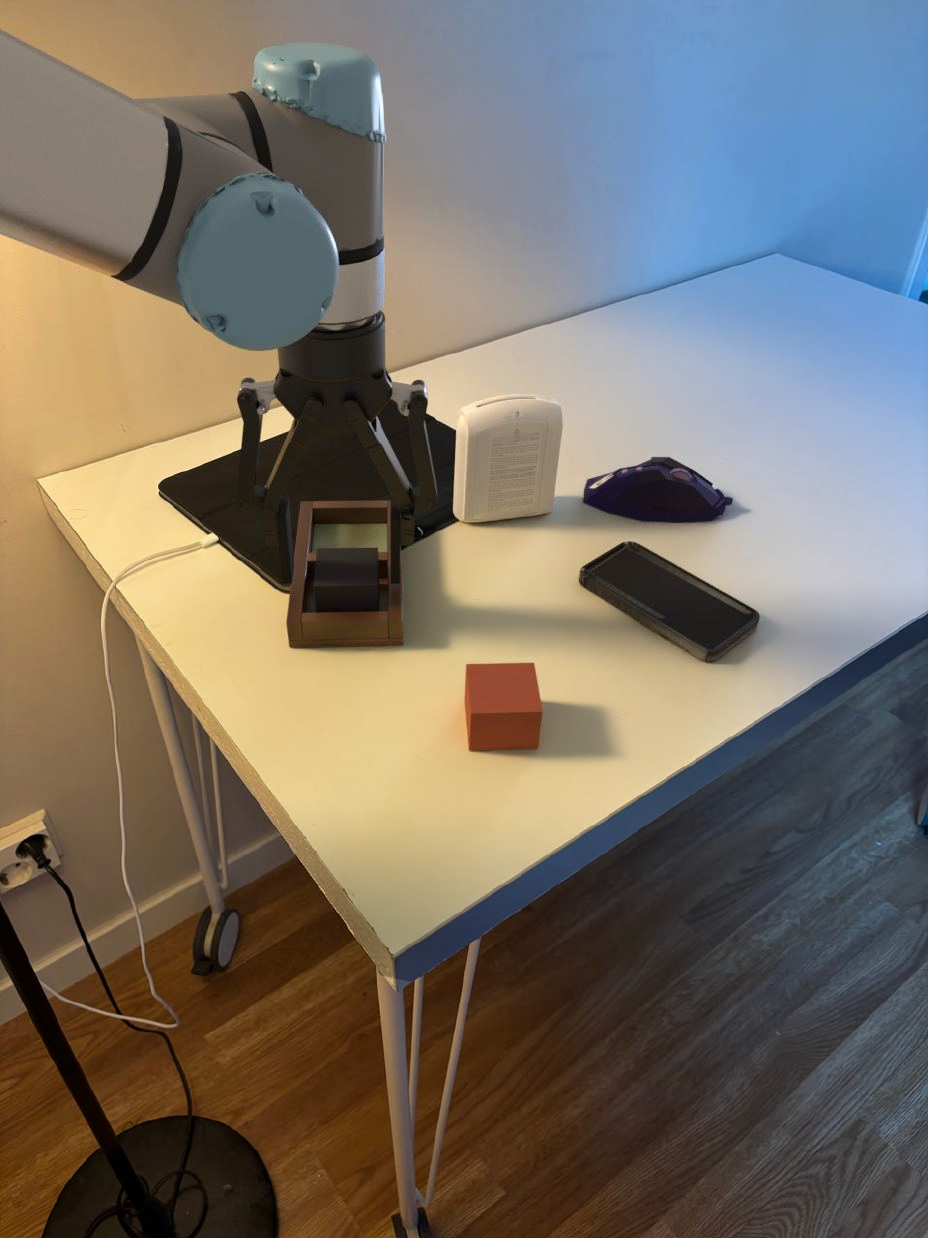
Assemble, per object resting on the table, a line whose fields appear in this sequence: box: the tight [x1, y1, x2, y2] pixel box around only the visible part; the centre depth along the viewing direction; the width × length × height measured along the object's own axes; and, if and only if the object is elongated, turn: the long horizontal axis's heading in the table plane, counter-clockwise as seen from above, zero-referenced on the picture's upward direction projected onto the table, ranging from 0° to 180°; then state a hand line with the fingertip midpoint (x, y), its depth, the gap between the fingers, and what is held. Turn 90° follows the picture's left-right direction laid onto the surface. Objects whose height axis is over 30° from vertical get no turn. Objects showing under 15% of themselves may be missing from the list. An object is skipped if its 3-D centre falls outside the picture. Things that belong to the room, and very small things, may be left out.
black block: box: [313, 548, 379, 613], centre depth 81 cm, size 5×5×4 cm
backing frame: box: [285, 499, 404, 648], centre depth 85 cm, size 9×18×3 cm, turn 4°
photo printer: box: [452, 393, 564, 523], centre depth 91 cm, size 10×4×12 cm, turn 106°
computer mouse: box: [582, 456, 734, 524], centre depth 96 cm, size 9×15×4 cm, turn 79°
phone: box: [578, 540, 761, 663], centre depth 84 cm, size 8×1×15 cm
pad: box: [463, 662, 544, 752], centre depth 72 cm, size 5×5×4 cm
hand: (342, 573), depth 80 cm, fingers open, 8 cm apart
